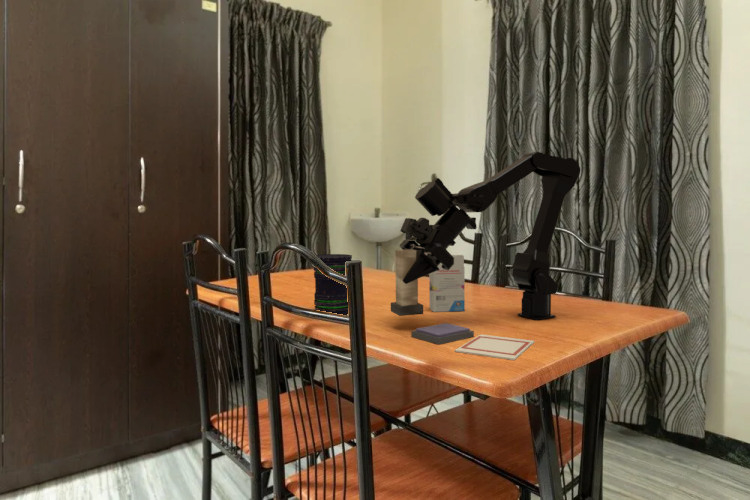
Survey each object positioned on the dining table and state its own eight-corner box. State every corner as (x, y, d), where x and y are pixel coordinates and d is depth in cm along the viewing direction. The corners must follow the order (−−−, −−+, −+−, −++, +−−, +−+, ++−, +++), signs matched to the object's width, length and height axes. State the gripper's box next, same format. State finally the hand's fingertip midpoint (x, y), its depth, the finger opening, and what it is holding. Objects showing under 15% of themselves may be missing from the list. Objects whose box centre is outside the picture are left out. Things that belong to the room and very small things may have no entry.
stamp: (413, 309, 116) (413, 248, 115) (423, 314, 111) (423, 250, 110) (390, 311, 115) (390, 249, 114) (399, 315, 109) (398, 251, 108)
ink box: (459, 307, 136) (460, 253, 135) (464, 311, 131) (465, 254, 130) (428, 308, 135) (428, 253, 134) (432, 312, 130) (432, 255, 129)
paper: (480, 335, 105) (480, 333, 105) (534, 342, 99) (534, 340, 99) (454, 351, 93) (454, 349, 93) (514, 360, 87) (514, 357, 87)
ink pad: (446, 329, 110) (446, 322, 110) (473, 336, 104) (473, 328, 104) (411, 336, 104) (411, 328, 104) (438, 344, 98) (438, 335, 98)
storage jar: (338, 319, 123) (337, 258, 122) (306, 315, 128) (305, 256, 127) (360, 312, 131) (359, 254, 130) (329, 308, 136) (329, 253, 135)
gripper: (407, 206, 121) (363, 253, 119) (440, 204, 103) (390, 260, 101) (437, 237, 124) (395, 285, 122) (474, 241, 106) (426, 296, 104)
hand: (400, 281), depth 112 cm, fingers closed on stamp, 4 cm apart
